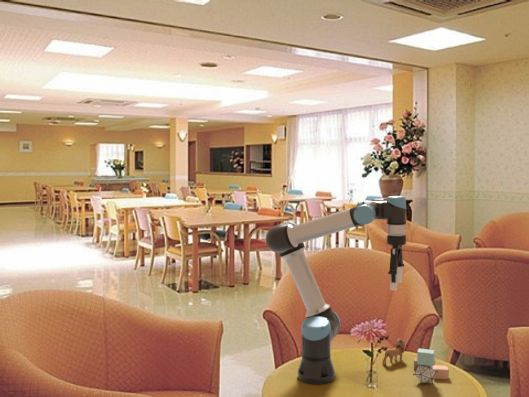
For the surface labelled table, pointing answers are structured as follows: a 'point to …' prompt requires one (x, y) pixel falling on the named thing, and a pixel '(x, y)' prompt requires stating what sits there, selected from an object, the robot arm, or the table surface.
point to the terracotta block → (441, 372)
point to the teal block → (425, 357)
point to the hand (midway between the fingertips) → (396, 286)
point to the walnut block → (417, 364)
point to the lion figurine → (395, 352)
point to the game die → (425, 373)
